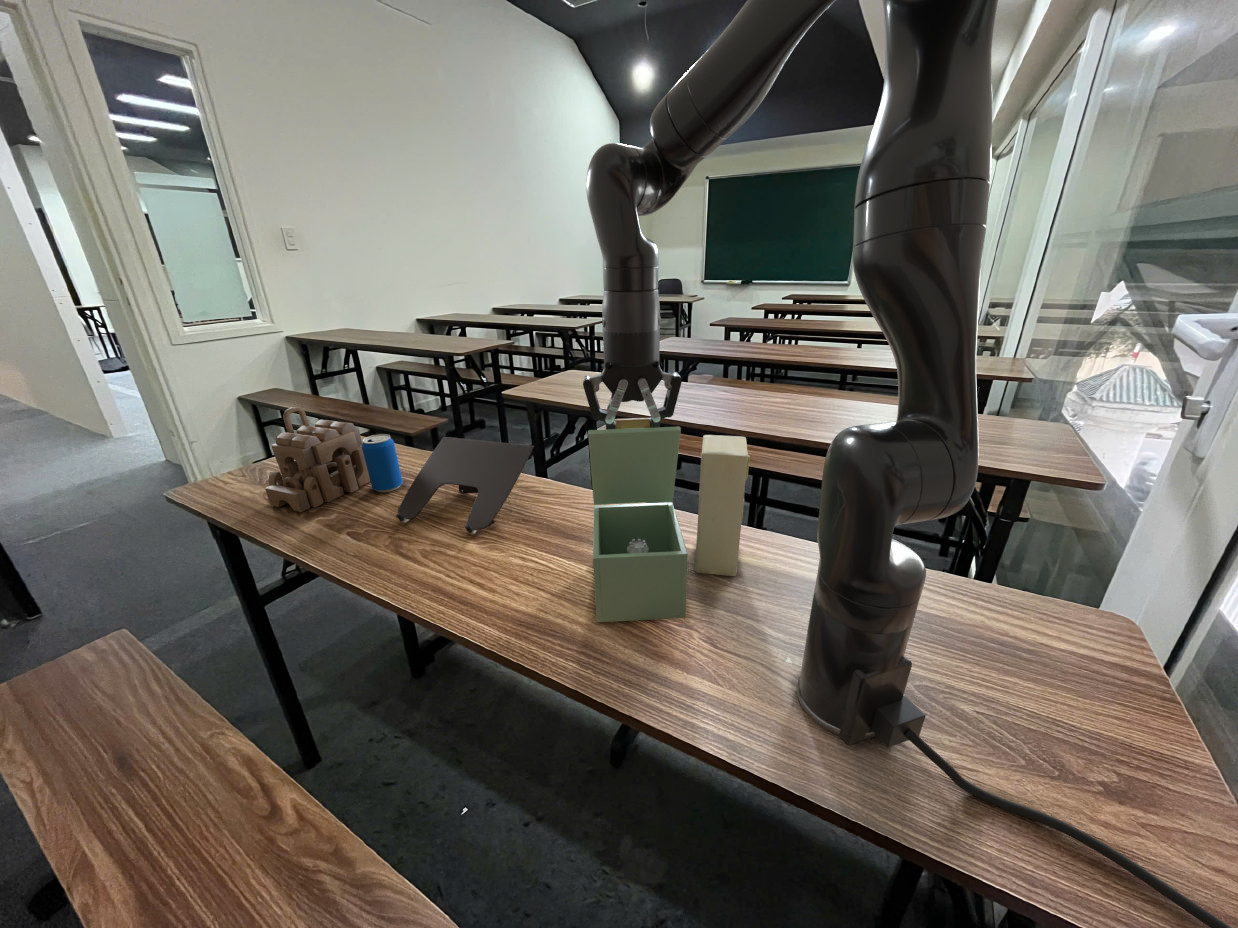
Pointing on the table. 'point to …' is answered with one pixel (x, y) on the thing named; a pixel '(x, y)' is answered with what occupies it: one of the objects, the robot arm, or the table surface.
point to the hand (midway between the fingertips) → (632, 444)
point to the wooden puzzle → (316, 463)
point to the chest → (639, 563)
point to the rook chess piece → (637, 547)
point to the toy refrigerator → (721, 503)
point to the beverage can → (382, 462)
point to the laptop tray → (468, 477)
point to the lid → (633, 462)
